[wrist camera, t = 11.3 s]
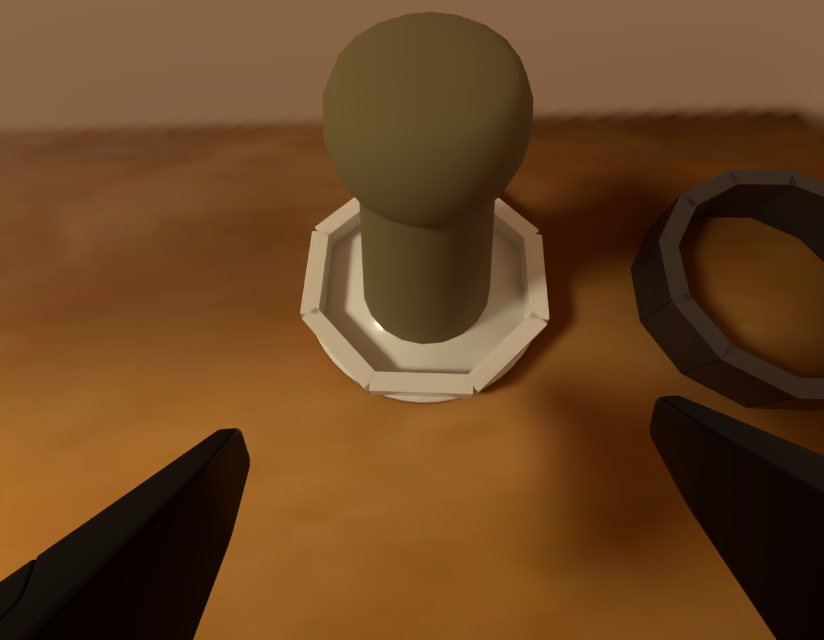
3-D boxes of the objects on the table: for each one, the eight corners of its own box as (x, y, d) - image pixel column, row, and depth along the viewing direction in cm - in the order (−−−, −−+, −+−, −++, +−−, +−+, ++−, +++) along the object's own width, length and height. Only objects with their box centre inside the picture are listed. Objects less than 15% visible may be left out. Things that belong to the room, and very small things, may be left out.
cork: (417, 208, 20) (409, -62, 10) (515, 274, 19) (626, 37, 8) (336, 292, 19) (226, 75, 8) (436, 371, 17) (452, 227, 7)
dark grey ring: (910, 413, 17) (990, 404, 14) (654, 404, 17) (691, 395, 15) (827, 205, 20) (879, 171, 18) (619, 203, 21) (643, 169, 18)
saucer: (548, 408, 17) (562, 401, 16) (296, 400, 18) (283, 392, 16) (531, 197, 21) (540, 174, 19) (325, 195, 22) (317, 172, 20)
